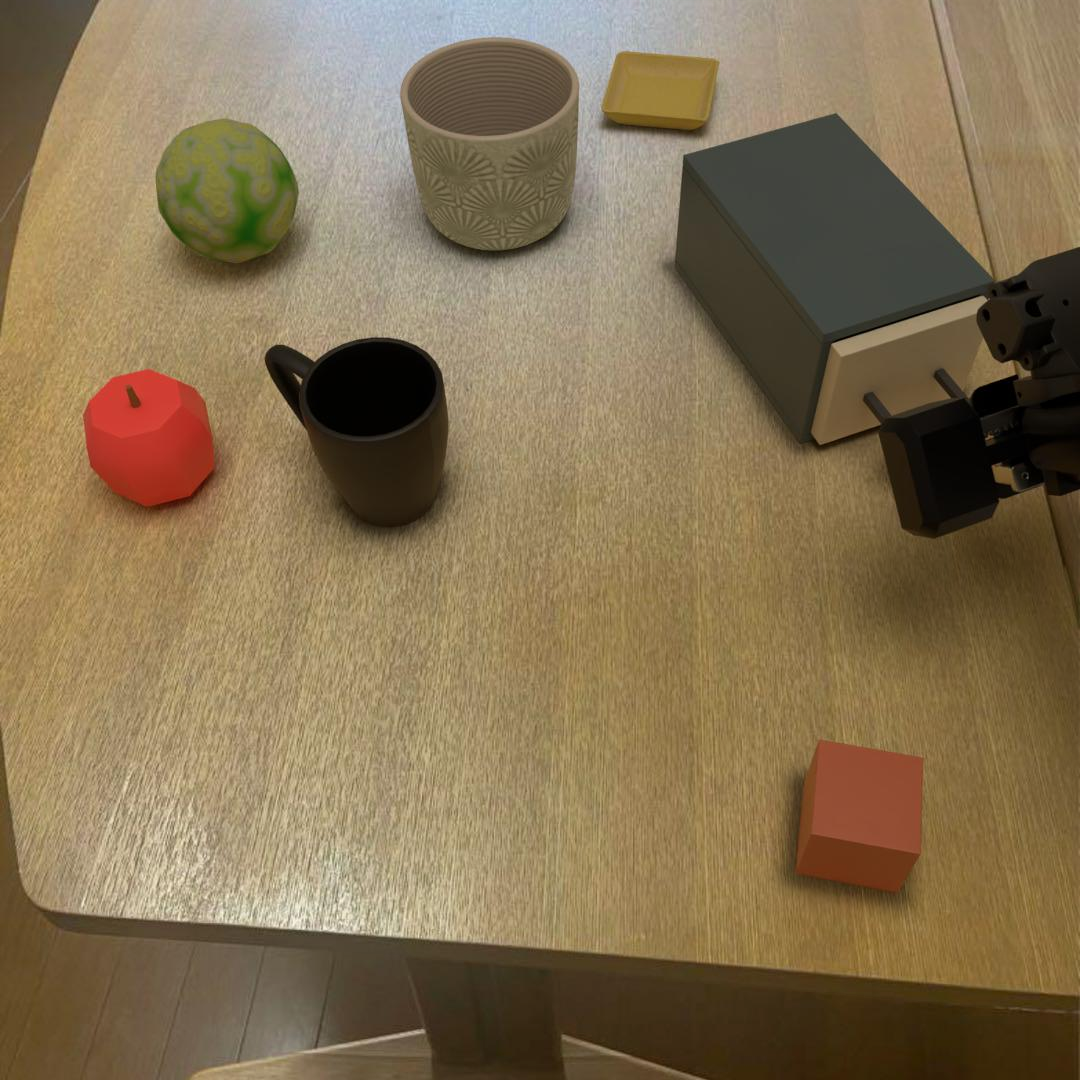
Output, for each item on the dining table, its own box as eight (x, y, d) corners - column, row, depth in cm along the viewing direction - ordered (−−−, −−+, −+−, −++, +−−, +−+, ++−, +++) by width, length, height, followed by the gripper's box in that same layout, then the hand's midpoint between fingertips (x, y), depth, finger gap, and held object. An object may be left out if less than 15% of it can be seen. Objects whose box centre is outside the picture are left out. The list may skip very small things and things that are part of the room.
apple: (81, 469, 77) (35, 382, 70) (189, 409, 80) (155, 320, 73) (141, 544, 73) (99, 460, 66) (252, 478, 76) (222, 391, 69)
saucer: (706, 142, 95) (708, 119, 94) (599, 132, 97) (599, 109, 95) (718, 81, 100) (720, 58, 99) (617, 72, 102) (617, 49, 100)
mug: (340, 401, 80) (314, 293, 72) (484, 478, 75) (472, 371, 68) (256, 480, 76) (219, 374, 68) (402, 566, 71) (380, 463, 64)
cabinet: (955, 392, 78) (995, 280, 71) (799, 444, 76) (824, 334, 68) (814, 225, 89) (836, 112, 81) (674, 267, 87) (682, 154, 79)
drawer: (998, 441, 75) (1036, 352, 68) (853, 492, 73) (878, 404, 66) (825, 236, 87) (843, 144, 80) (696, 275, 85) (705, 183, 78)
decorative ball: (243, 310, 85) (208, 194, 77) (150, 256, 89) (107, 141, 81) (337, 236, 90) (313, 120, 82) (244, 189, 93) (213, 73, 85)
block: (901, 800, 62) (923, 757, 57) (897, 893, 59) (921, 854, 55) (803, 782, 62) (818, 738, 58) (795, 873, 59) (810, 834, 55)
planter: (581, 266, 87) (581, 136, 78) (412, 270, 87) (393, 141, 78) (577, 162, 94) (577, 33, 86) (421, 166, 95) (405, 38, 86)
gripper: (1302, 194, 54) (1071, 244, 69) (947, 307, 50) (784, 334, 65) (1345, 430, 56) (1110, 429, 71) (1005, 556, 52) (834, 526, 67)
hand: (964, 425), depth 68 cm, fingers closed
